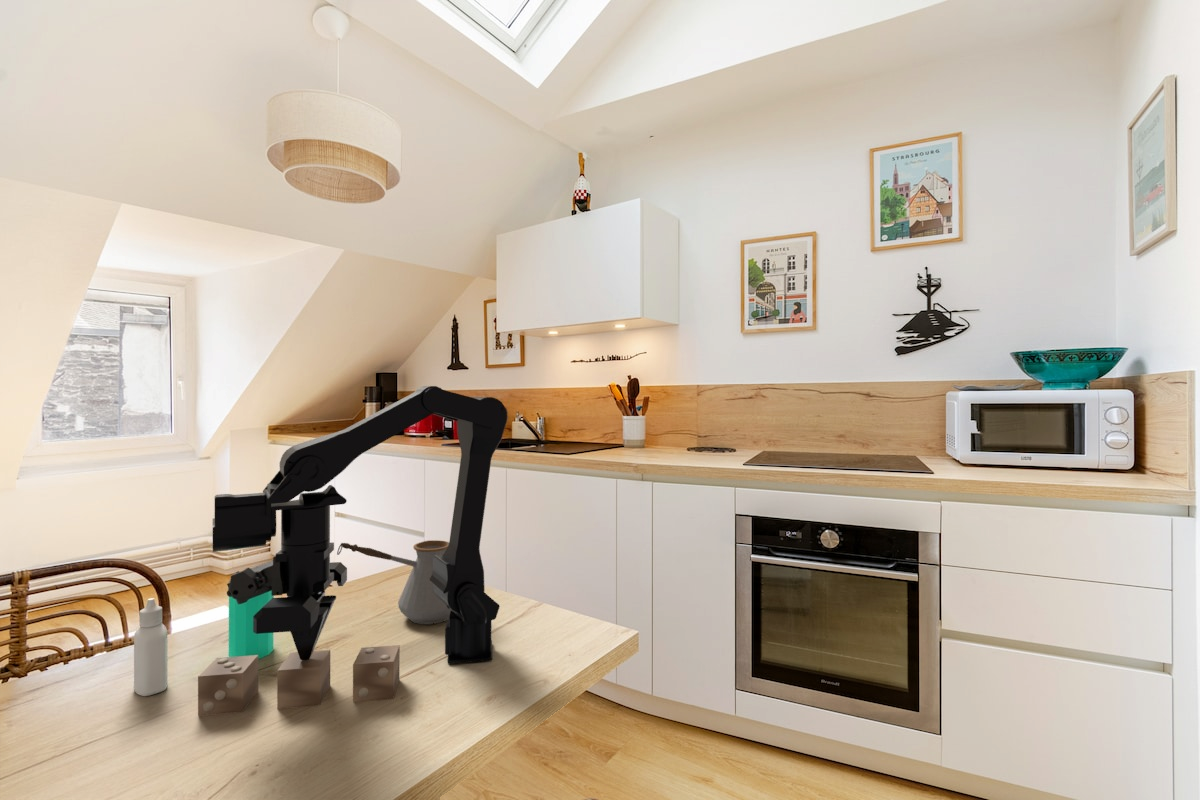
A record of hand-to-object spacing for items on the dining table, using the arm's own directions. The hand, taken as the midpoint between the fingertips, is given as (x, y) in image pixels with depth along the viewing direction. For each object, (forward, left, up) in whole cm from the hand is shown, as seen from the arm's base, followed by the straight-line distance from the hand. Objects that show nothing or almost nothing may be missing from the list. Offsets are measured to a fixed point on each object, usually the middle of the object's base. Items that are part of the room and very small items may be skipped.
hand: (305, 658), depth 76 cm
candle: (+12, -15, -5) cm, 20 cm away
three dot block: (+9, 0, -5) cm, 10 cm away
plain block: (0, 0, -5) cm, 5 cm away
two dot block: (-9, 0, -5) cm, 10 cm away
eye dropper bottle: (+21, -6, -5) cm, 23 cm away
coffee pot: (-9, -24, -5) cm, 26 cm away
